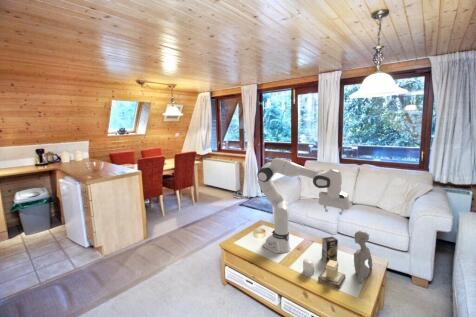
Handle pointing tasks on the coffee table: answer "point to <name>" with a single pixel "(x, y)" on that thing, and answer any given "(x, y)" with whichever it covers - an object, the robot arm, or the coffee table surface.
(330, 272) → the carton
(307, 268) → the white rounded cylinder
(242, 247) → the coffee table surface
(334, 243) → the coffee box
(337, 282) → the wooden picture frame
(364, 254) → the elf figurine
